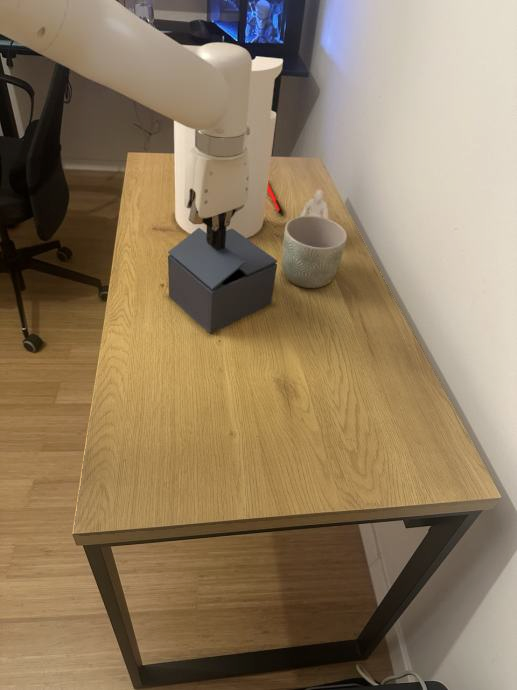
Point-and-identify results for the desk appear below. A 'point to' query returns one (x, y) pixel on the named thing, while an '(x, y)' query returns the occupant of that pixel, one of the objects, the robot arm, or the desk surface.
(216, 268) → the flap
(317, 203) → the figurine
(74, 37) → the robot arm
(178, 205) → the white rounded tall casing
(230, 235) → the carton
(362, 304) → the desk surface
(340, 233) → the planter
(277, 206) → the pen
